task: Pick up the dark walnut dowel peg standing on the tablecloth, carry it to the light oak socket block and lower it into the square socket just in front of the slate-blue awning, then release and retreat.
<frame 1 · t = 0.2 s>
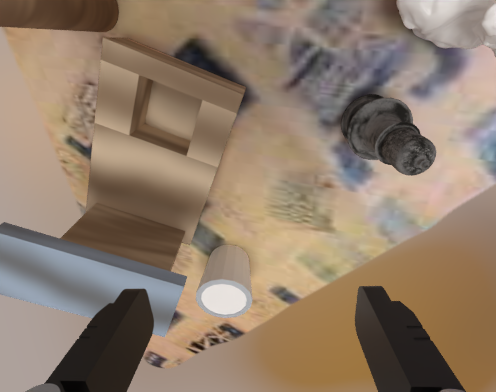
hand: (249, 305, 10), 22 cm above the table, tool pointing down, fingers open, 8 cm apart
peg: (96, 6, 25), on the table
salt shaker: (366, 120, 29), on the table
bust: (447, 6, 24), on the table
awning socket: (168, 145, 31), on the table
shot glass: (229, 258, 39), on the table
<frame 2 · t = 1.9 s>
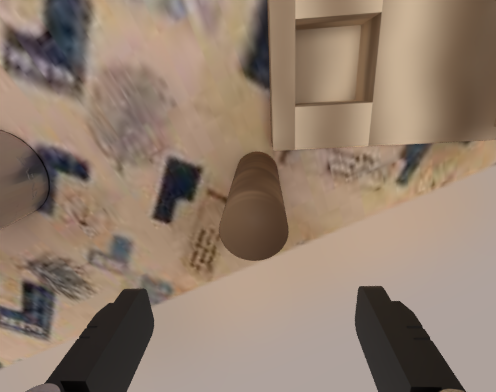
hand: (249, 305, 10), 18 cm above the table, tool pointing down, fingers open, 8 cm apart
peg: (257, 171, 27), on the table
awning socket: (376, 63, 23), on the table
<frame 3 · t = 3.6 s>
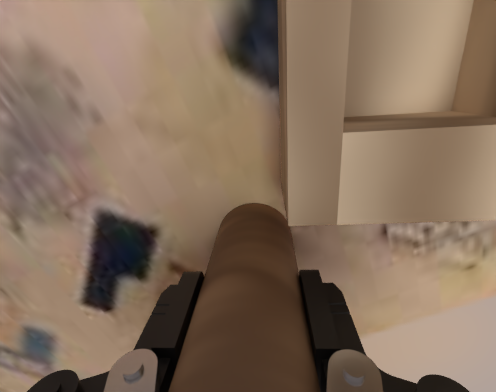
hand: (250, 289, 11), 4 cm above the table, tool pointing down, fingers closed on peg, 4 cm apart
peg: (254, 236, 15), on the table, touching gripper
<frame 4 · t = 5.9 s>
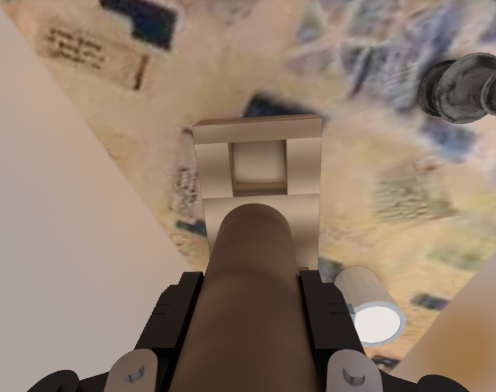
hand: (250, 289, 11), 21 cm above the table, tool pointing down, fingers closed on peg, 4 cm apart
peg: (254, 236, 15), point 17 cm above the table, touching gripper
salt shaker: (444, 89, 28), on the table
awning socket: (261, 194, 33), on the table
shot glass: (354, 282, 37), on the table
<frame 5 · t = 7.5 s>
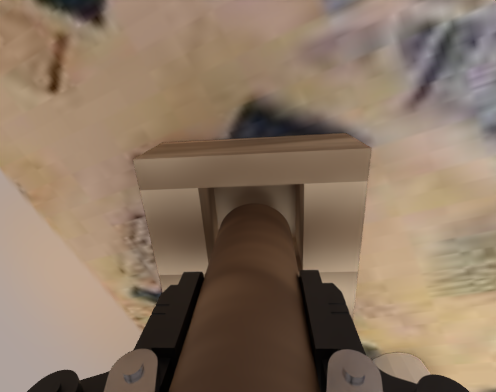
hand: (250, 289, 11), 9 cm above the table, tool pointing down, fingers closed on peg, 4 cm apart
peg: (254, 236, 15), point 5 cm above the table, touching gripper
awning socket: (258, 254, 21), on the table
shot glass: (393, 371, 26), on the table
when the fingers open (6 cm above the table, at t = 8.5 s): peg stays where it is, resting on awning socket.
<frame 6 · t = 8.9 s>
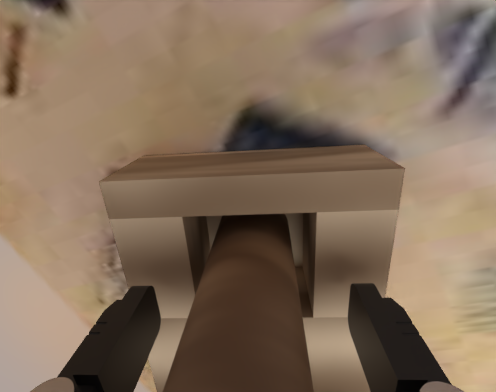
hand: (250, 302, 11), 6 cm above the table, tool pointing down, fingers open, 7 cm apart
peg: (254, 227, 16), point 1 cm above the table, touching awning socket
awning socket: (258, 284, 18), on the table
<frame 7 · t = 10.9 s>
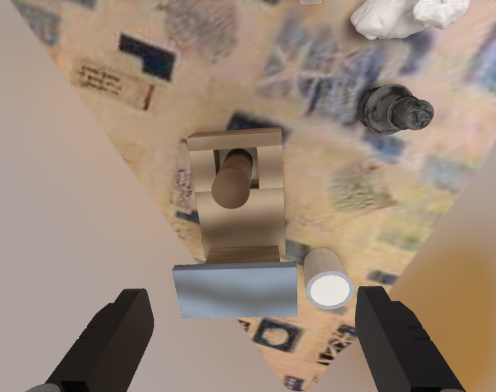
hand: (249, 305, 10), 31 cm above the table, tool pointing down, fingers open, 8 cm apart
peg: (239, 161, 39), point 1 cm above the table, touching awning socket
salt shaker: (377, 108, 36), on the table
bust: (395, 10, 32), on the table
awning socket: (242, 190, 42), on the table
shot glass: (320, 261, 46), on the table
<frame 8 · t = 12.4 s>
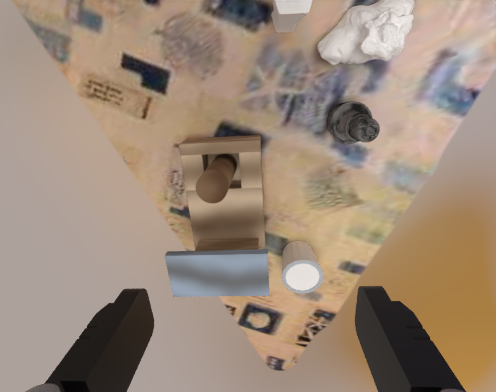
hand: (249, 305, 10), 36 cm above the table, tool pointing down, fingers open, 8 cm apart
peg: (225, 164, 45), point 1 cm above the table, touching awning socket
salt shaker: (343, 120, 42), on the table
bust: (356, 39, 38), on the table
perfume bottle: (284, 20, 38), on the table
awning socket: (228, 189, 47), on the table
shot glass: (297, 252, 52), on the table
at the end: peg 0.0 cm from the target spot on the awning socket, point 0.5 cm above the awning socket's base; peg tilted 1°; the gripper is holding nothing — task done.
